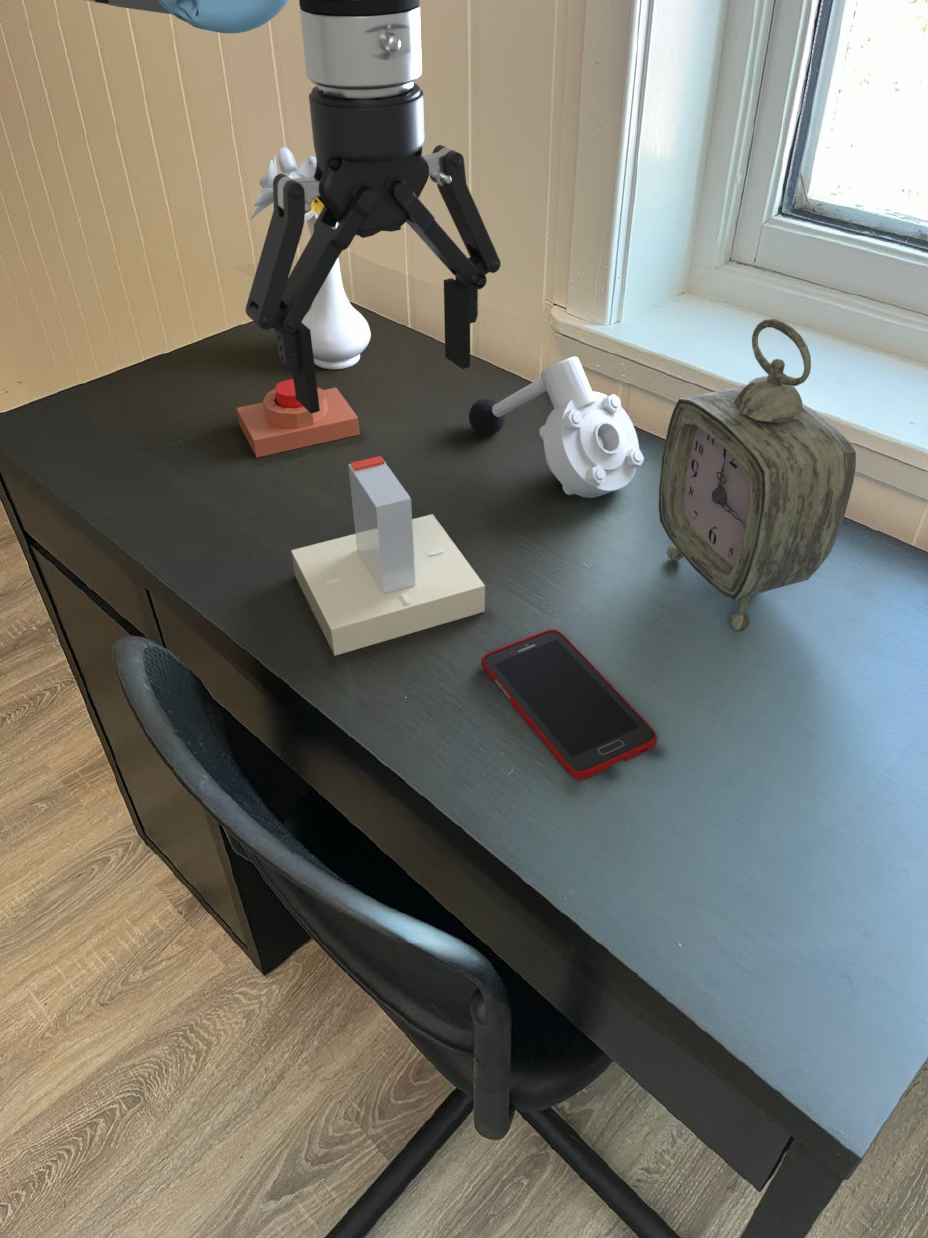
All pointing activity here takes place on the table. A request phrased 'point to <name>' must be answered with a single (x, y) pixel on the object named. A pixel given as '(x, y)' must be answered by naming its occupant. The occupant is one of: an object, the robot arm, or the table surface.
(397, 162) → the robot arm
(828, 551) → the tabletop clock
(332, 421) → the button block
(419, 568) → the cream rectangular base
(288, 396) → the button
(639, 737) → the cell phone
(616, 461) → the mechanical valve
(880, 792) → the table surface
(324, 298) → the flower vase
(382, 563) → the grey rectangular block
